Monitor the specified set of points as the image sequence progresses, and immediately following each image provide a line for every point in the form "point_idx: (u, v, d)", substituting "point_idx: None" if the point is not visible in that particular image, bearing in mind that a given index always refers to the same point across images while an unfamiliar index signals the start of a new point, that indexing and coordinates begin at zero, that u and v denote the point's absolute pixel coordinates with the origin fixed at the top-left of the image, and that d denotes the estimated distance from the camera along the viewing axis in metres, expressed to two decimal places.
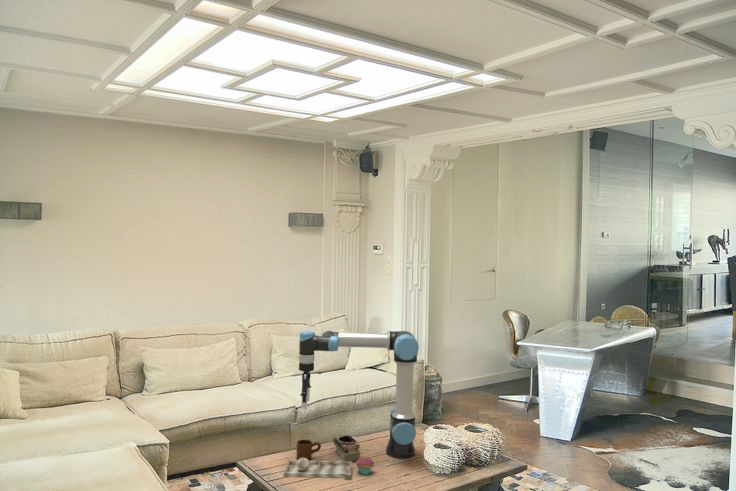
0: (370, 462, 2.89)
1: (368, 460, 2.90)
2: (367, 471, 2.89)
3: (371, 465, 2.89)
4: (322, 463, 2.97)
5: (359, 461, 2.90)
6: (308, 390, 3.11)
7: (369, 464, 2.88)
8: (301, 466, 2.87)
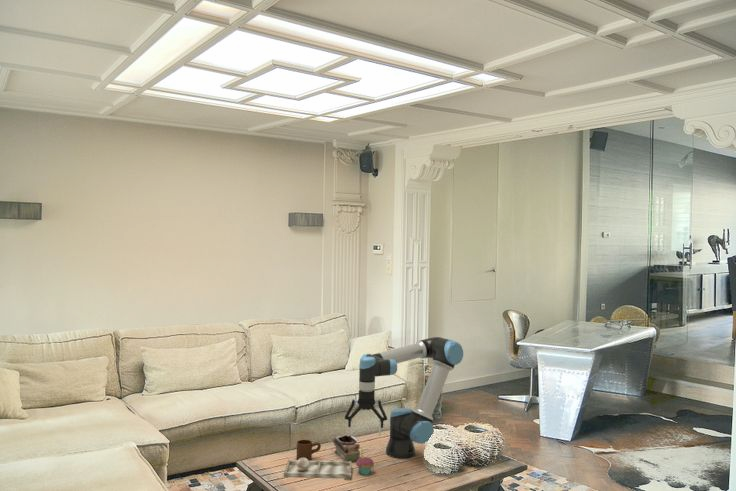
0: (370, 462, 2.89)
1: (368, 460, 2.90)
2: (367, 471, 2.89)
3: (371, 465, 2.89)
4: (322, 463, 2.97)
5: (359, 461, 2.90)
6: (379, 423, 2.91)
7: (369, 464, 2.88)
8: (301, 466, 2.87)
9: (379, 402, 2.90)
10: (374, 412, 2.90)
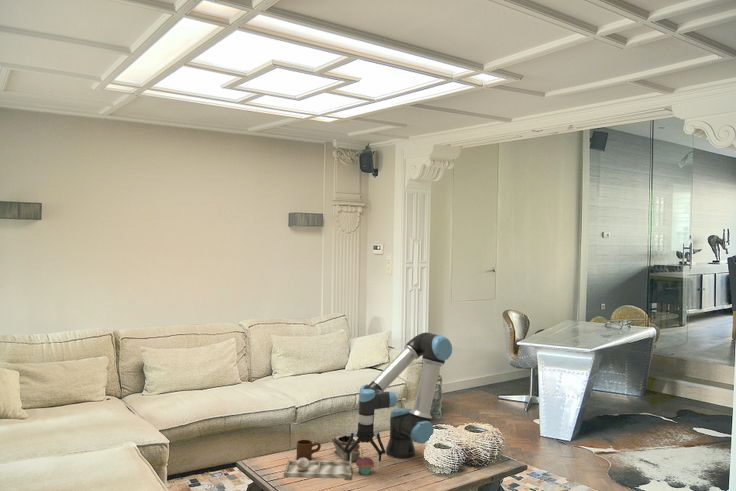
0: (370, 462, 2.89)
1: (368, 460, 2.90)
2: (367, 471, 2.89)
3: (371, 465, 2.89)
4: (322, 463, 2.97)
5: (359, 461, 2.90)
6: (377, 456, 2.91)
7: (369, 464, 2.88)
8: (301, 466, 2.87)
9: (378, 435, 2.90)
10: None
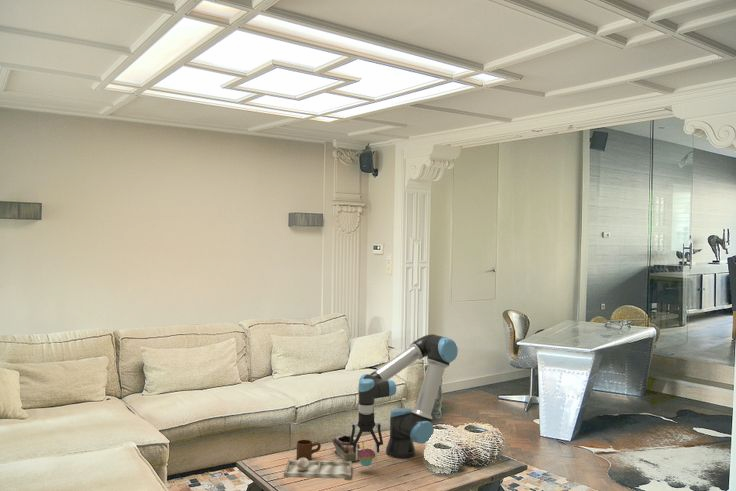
0: (371, 453, 2.90)
1: (369, 451, 2.90)
2: (369, 462, 2.89)
3: (372, 456, 2.89)
4: (322, 463, 2.97)
5: (360, 453, 2.90)
6: (375, 448, 2.91)
7: (370, 455, 2.89)
8: (301, 466, 2.87)
9: (379, 426, 2.90)
10: (372, 435, 2.90)
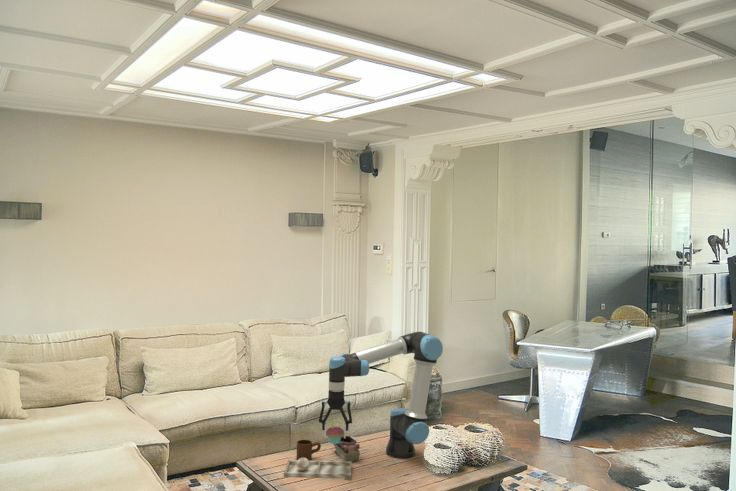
0: (340, 431, 2.88)
1: (338, 429, 2.88)
2: (337, 440, 2.88)
3: (341, 434, 2.87)
4: (322, 463, 2.97)
5: (329, 430, 2.88)
6: (344, 426, 2.89)
7: (339, 433, 2.87)
8: (301, 466, 2.87)
9: (348, 404, 2.89)
10: (341, 413, 2.89)
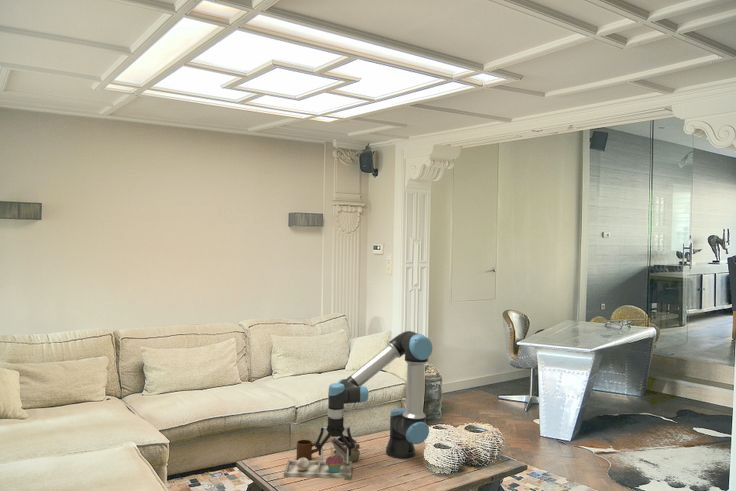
0: (339, 460, 2.88)
1: (338, 458, 2.89)
2: (336, 469, 2.88)
3: (340, 463, 2.88)
4: (322, 463, 2.97)
5: (328, 459, 2.88)
6: None
7: (338, 462, 2.87)
8: (301, 466, 2.87)
9: (348, 430, 2.89)
10: None
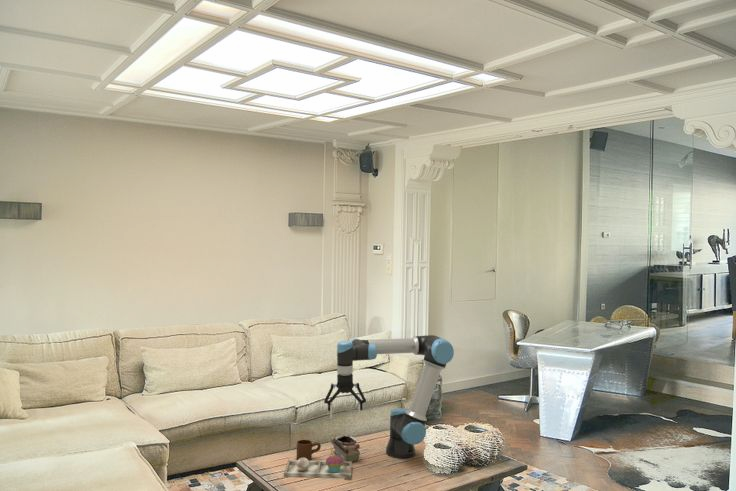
0: (339, 460, 2.88)
1: (338, 458, 2.89)
2: (336, 469, 2.88)
3: (340, 463, 2.88)
4: (322, 463, 2.97)
5: (328, 459, 2.88)
6: (358, 405, 2.95)
7: (338, 462, 2.87)
8: (301, 466, 2.87)
9: (357, 385, 2.95)
10: (353, 395, 2.95)
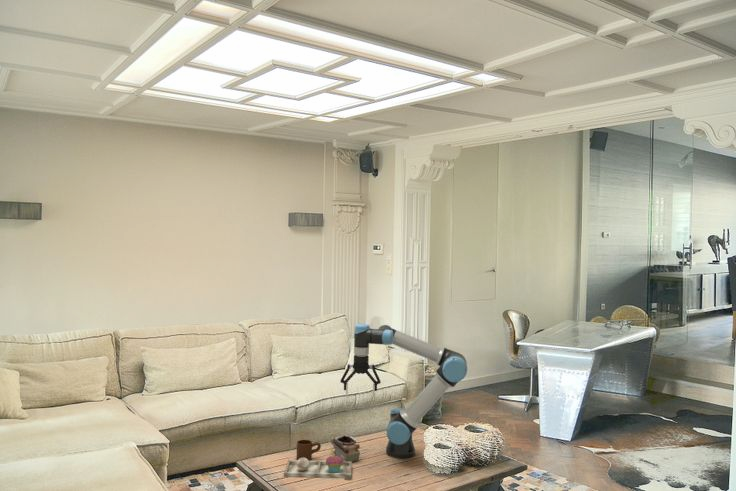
0: (339, 460, 2.88)
1: (338, 458, 2.89)
2: (336, 469, 2.88)
3: (340, 463, 2.88)
4: (322, 463, 2.97)
5: (328, 459, 2.88)
6: (373, 386, 3.07)
7: (338, 462, 2.87)
8: (301, 466, 2.87)
9: (373, 366, 3.07)
10: None
